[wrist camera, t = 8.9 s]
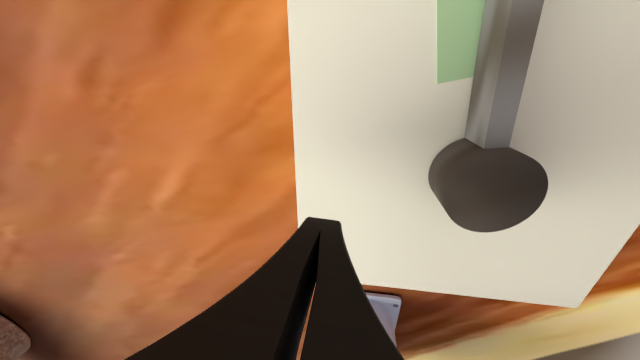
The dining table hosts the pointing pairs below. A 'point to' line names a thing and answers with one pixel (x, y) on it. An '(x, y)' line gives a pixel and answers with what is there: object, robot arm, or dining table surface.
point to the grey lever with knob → (493, 129)
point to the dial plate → (449, 126)
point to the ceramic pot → (12, 340)
